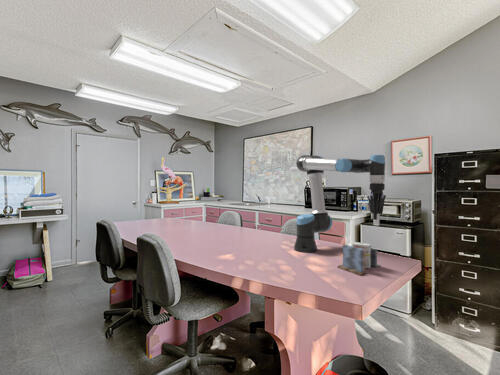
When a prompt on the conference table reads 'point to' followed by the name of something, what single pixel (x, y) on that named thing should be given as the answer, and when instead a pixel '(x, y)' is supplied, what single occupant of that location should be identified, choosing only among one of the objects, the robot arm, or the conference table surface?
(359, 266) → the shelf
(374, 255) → the bookend
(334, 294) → the conference table surface
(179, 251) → the conference table surface
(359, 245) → the ink box
